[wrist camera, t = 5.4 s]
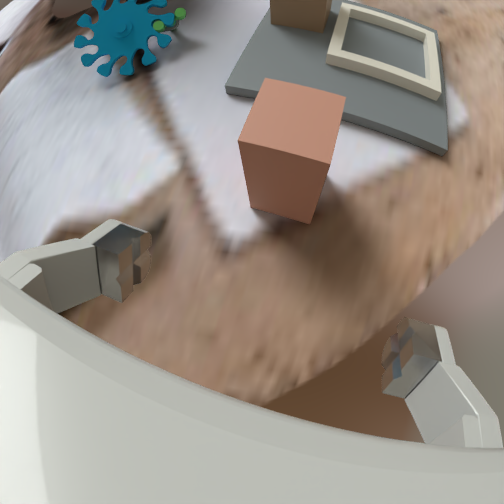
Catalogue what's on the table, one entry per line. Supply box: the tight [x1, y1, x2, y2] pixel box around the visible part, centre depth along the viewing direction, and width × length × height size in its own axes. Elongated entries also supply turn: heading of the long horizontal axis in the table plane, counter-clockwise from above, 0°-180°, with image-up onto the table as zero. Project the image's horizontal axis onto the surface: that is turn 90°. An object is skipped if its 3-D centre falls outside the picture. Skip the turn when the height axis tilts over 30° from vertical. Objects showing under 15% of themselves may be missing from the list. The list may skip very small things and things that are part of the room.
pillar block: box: [238, 78, 346, 224], centre depth 17 cm, size 4×4×8 cm
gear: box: [74, 0, 186, 77], centre depth 23 cm, size 11×6×10 cm
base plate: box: [225, 0, 448, 156], centre depth 20 cm, size 18×18×7 cm
